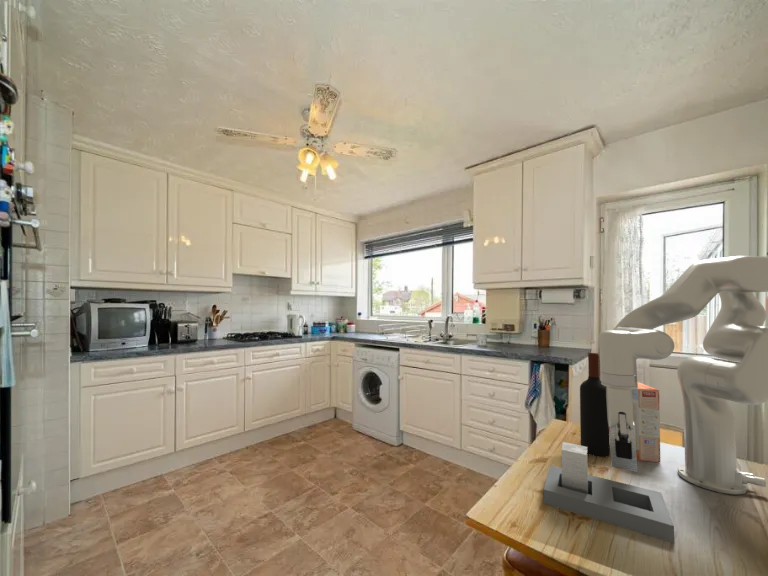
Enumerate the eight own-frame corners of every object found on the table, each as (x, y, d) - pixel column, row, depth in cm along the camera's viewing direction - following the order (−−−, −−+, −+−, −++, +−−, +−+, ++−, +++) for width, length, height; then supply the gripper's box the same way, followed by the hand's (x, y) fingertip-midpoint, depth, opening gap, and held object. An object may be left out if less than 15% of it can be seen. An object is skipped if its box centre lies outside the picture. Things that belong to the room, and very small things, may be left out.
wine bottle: (575, 446, 105) (573, 351, 106) (597, 445, 106) (595, 351, 107) (592, 457, 97) (591, 355, 99) (616, 456, 98) (614, 355, 100)
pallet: (661, 511, 72) (661, 492, 73) (674, 548, 61) (673, 525, 62) (549, 481, 84) (549, 465, 84) (543, 507, 73) (543, 489, 73)
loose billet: (634, 462, 83) (632, 418, 84) (637, 471, 79) (634, 424, 79) (610, 458, 86) (608, 415, 86) (612, 466, 82) (609, 421, 82)
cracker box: (662, 463, 94) (660, 389, 95) (638, 461, 95) (636, 388, 96) (635, 443, 108) (634, 378, 109) (615, 441, 109) (613, 377, 110)
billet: (588, 495, 76) (587, 446, 77) (588, 506, 72) (587, 455, 72) (563, 488, 79) (562, 441, 79) (562, 499, 75) (561, 449, 75)
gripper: (600, 371, 92) (603, 437, 92) (602, 385, 78) (606, 464, 77) (633, 374, 88) (637, 443, 88) (642, 389, 74) (647, 472, 73)
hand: (622, 452), depth 82 cm, fingers closed on loose billet, 5 cm apart
